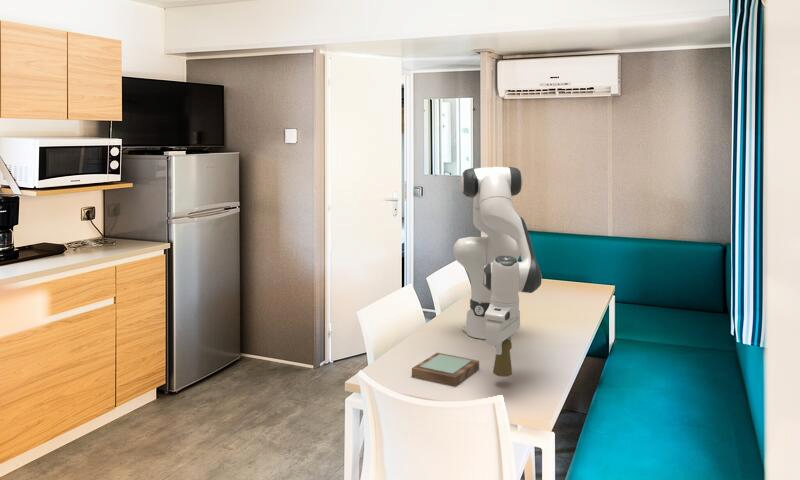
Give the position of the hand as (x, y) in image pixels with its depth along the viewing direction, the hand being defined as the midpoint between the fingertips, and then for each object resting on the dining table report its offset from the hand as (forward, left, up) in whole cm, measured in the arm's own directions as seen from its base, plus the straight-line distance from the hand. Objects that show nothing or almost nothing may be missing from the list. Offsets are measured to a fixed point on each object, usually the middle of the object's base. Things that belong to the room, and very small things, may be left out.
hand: (503, 350), depth 206 cm
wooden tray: (0, -20, -11) cm, 23 cm away
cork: (0, 0, -8) cm, 8 cm away
